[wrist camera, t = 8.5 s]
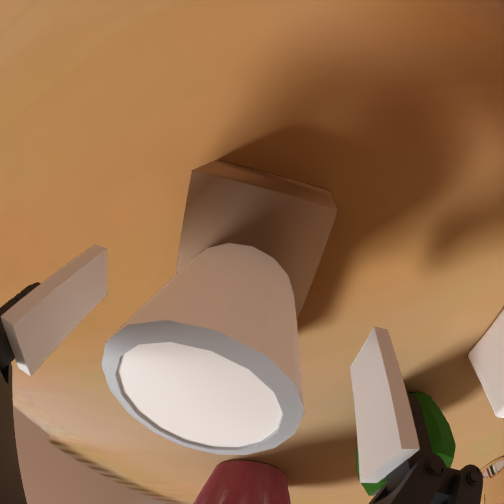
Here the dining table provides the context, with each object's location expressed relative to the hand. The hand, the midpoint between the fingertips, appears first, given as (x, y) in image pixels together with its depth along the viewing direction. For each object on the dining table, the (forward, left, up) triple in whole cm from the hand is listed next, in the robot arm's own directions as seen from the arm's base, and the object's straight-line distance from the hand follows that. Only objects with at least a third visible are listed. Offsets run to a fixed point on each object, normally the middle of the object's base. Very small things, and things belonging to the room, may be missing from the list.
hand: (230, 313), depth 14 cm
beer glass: (+48, -25, -6) cm, 54 cm away
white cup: (0, 0, -2) cm, 2 cm away
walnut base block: (0, 0, -6) cm, 6 cm away
